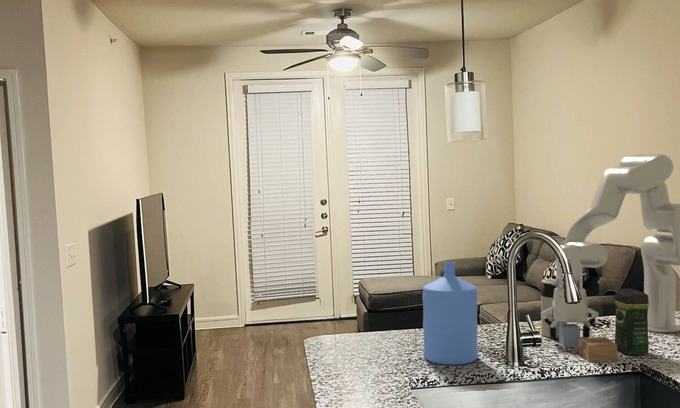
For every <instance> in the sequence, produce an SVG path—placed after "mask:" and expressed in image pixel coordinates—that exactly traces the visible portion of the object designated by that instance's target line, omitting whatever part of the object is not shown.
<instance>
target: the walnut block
mask: <svg viewBox="0 0 680 408" xmlns="http://www.w3.org/2000/svg"><path fill="white" fill-rule="evenodd" d="M577 349H578V350H577V353H578V355H579V356H581V357H582V358H583V359H584V360H586V361H587V362H589V363H590V362H617V361H618V350H617V344H616V343H615V341H612V340H611V339H609V338H607V337H606V336H597V337H596V336H594V337H593V336H592V337H587V338H583V337H580V338H578V348H577Z"/></svg>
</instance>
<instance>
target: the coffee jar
mask: <svg viewBox="0 0 680 408" xmlns="http://www.w3.org/2000/svg"><path fill="white" fill-rule="evenodd" d="M614 306H615V327H614V328H615V329H614V343H616V344H617V352H618V351H619V352H621V353H623V354H627V355H633V356H634V355H635V356H643V355H647V354H648V353H649V351H650V349H649V348H650V347H649V342H650V341H649V331H648V307H649V299H648V295H647V294H645V293H644V291H639V290H637V289H633V288H628V287H627V288H618V289H617V290H616V291H615V294H614Z"/></svg>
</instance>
